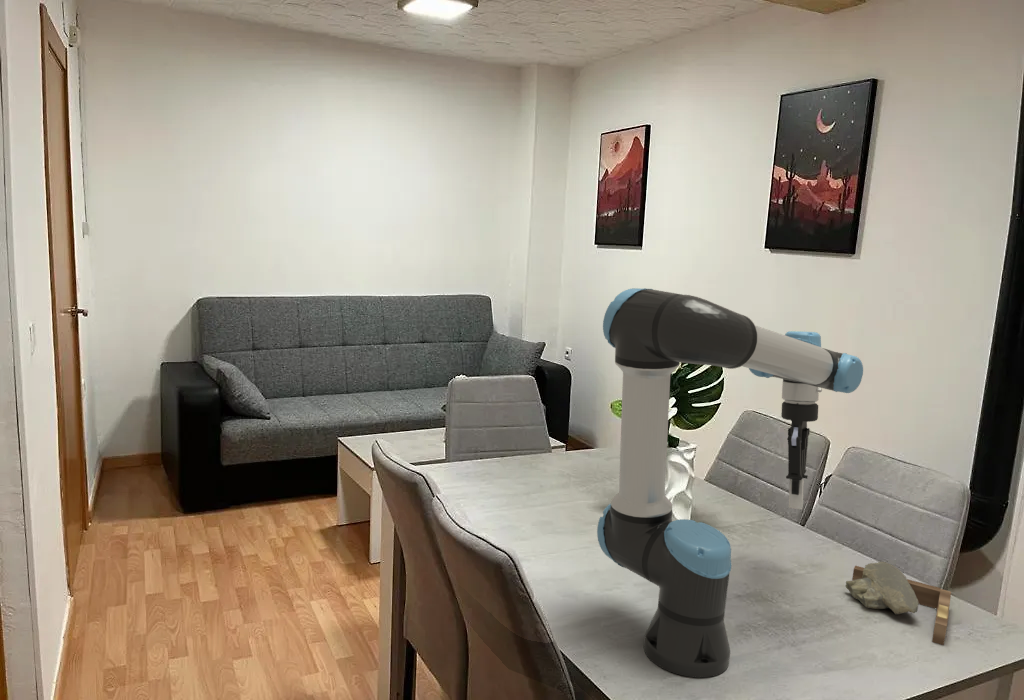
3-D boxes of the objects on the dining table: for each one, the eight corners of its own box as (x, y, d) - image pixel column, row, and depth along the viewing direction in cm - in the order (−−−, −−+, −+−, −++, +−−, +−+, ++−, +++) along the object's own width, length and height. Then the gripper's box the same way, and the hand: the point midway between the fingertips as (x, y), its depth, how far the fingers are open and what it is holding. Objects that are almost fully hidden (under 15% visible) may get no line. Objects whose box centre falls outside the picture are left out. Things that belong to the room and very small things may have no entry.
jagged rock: (875, 610, 169) (837, 591, 168) (894, 566, 170) (856, 548, 169) (917, 633, 155) (876, 614, 154) (938, 586, 156) (897, 566, 155)
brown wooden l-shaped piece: (943, 645, 149) (947, 625, 148) (839, 614, 158) (841, 595, 158) (948, 608, 164) (951, 589, 164) (852, 582, 174) (855, 564, 173)
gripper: (813, 406, 161) (808, 517, 163) (822, 400, 173) (818, 504, 174) (776, 403, 165) (772, 511, 166) (787, 397, 176) (783, 499, 178)
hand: (795, 507), depth 170 cm, fingers closed
